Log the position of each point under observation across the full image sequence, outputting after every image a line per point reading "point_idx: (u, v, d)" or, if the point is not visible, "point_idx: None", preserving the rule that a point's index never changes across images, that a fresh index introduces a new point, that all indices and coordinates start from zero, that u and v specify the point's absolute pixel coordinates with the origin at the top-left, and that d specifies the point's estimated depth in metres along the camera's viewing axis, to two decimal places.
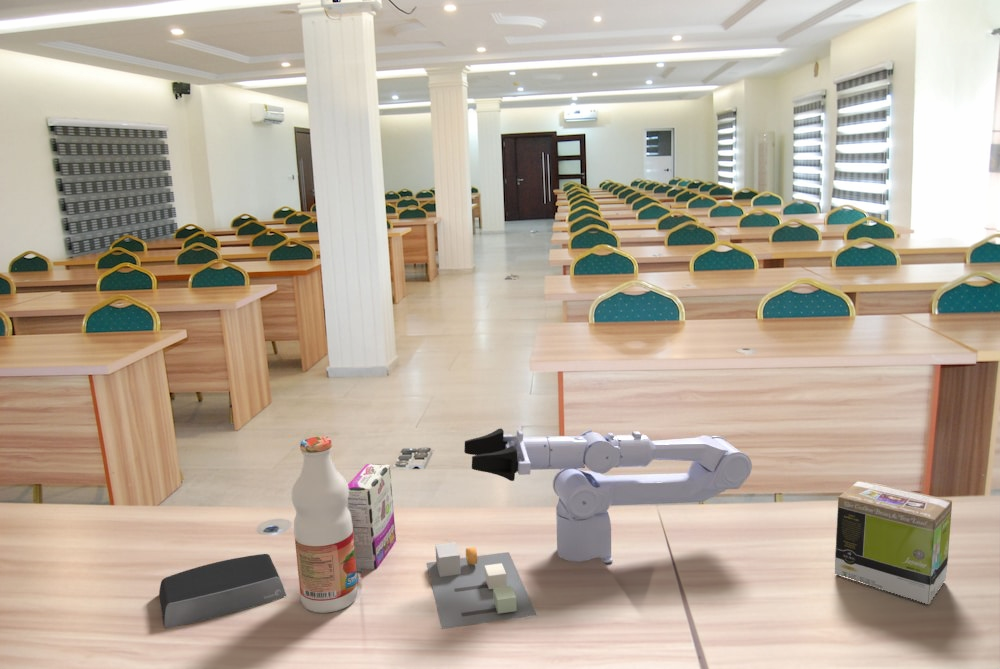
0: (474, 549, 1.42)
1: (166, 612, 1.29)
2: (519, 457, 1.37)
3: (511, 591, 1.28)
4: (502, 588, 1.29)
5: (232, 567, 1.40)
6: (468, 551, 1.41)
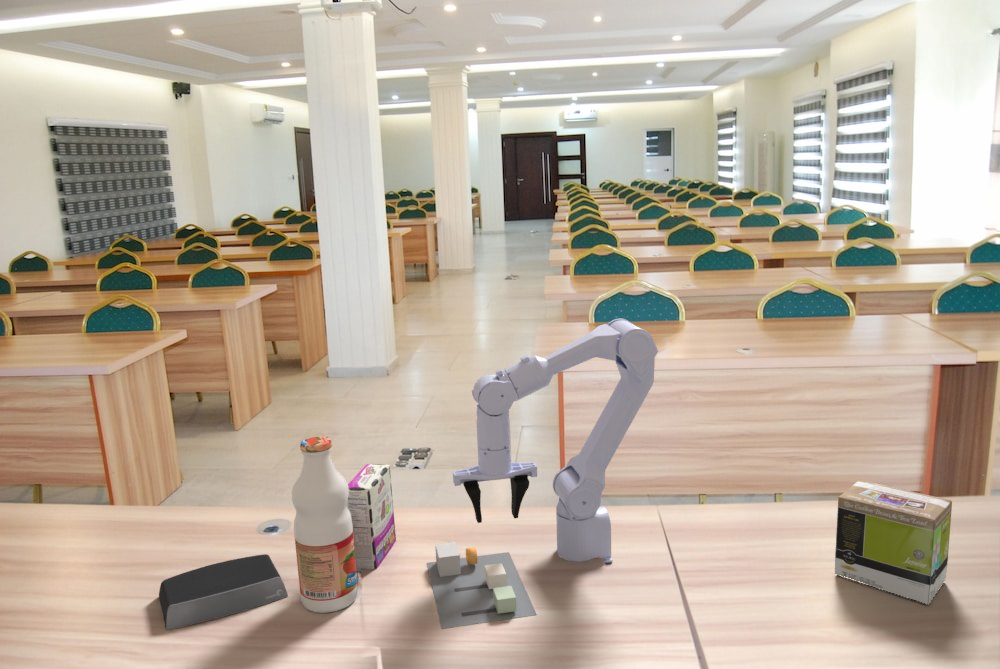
0: (474, 549, 1.42)
1: (168, 614, 1.28)
2: None
3: (511, 591, 1.28)
4: (502, 588, 1.29)
5: (232, 568, 1.39)
6: (468, 551, 1.41)
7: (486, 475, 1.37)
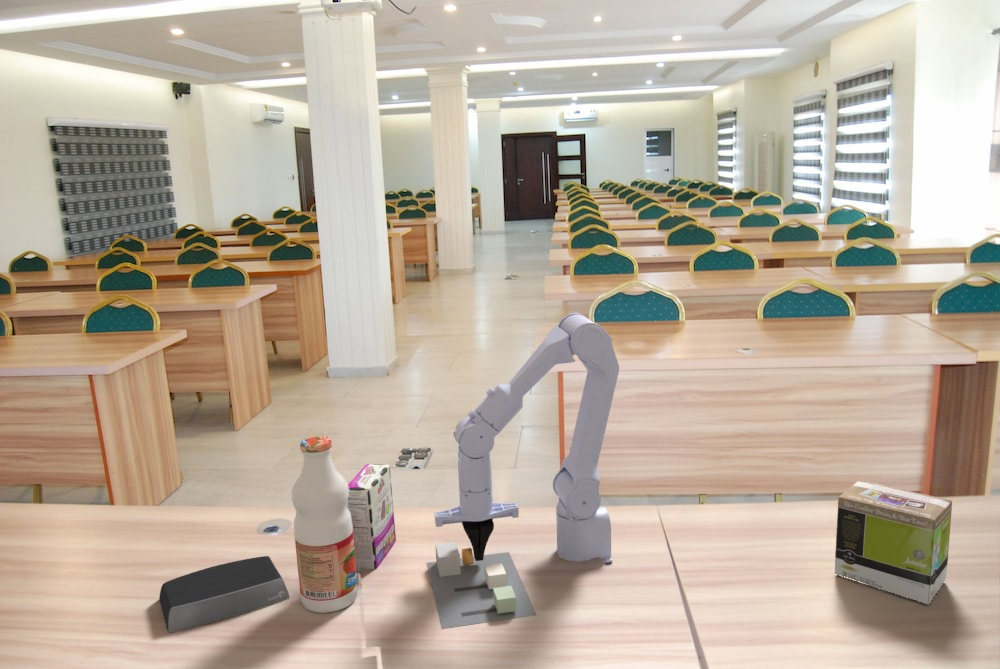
0: (470, 550, 1.41)
1: (170, 616, 1.27)
2: None
3: (511, 591, 1.28)
4: (502, 588, 1.29)
5: (233, 570, 1.39)
6: (464, 552, 1.41)
7: (467, 517, 1.38)
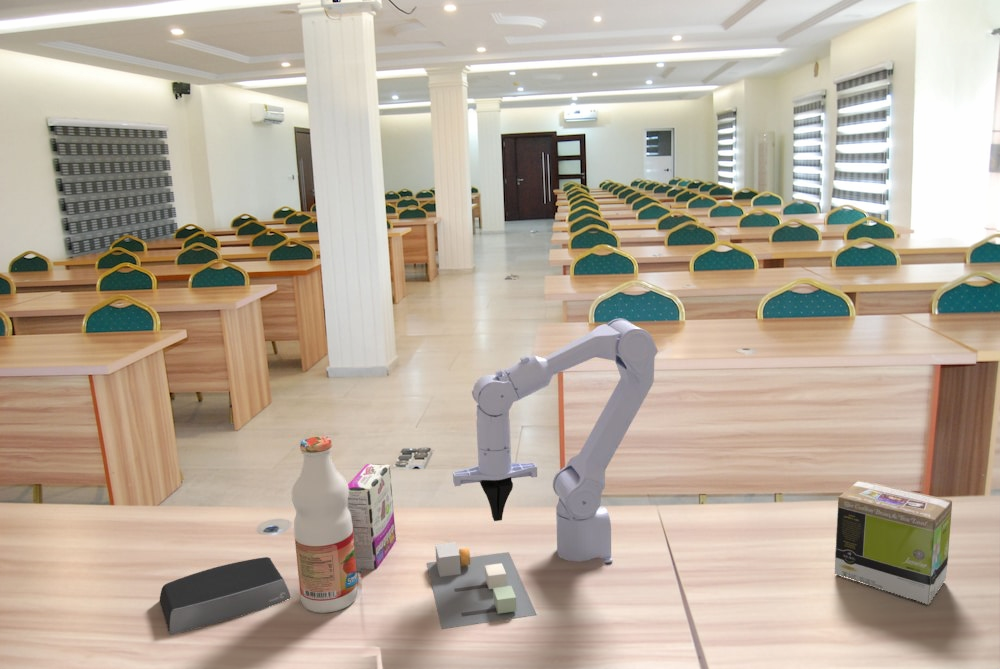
0: (467, 550, 1.41)
1: (171, 618, 1.27)
2: None
3: (511, 591, 1.28)
4: (502, 588, 1.29)
5: (234, 571, 1.38)
6: (461, 552, 1.41)
7: (486, 475, 1.37)
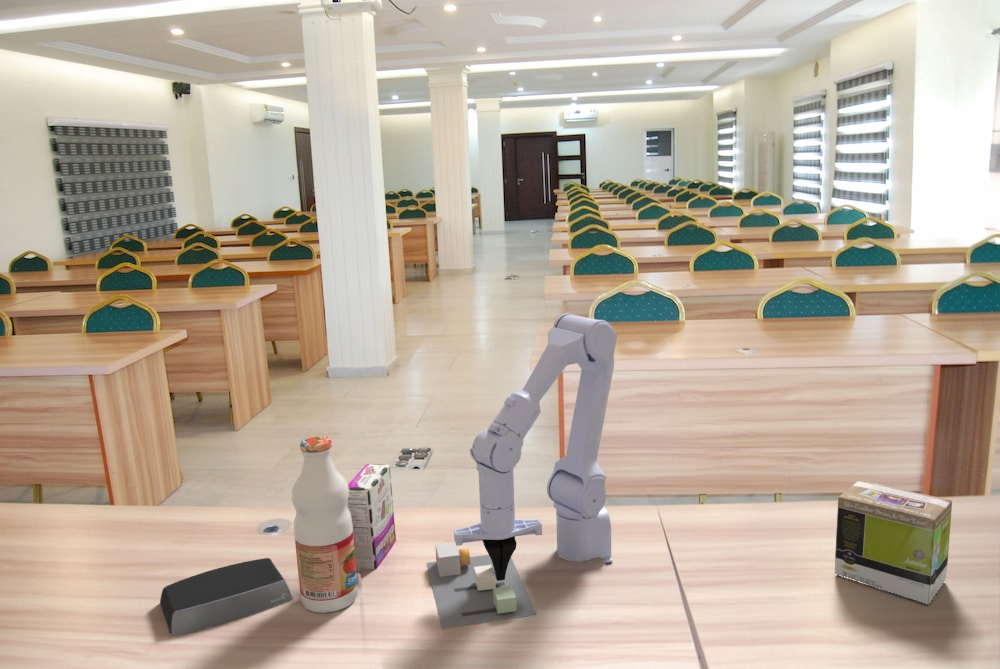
0: (467, 550, 1.41)
1: (173, 620, 1.26)
2: None
3: (511, 591, 1.28)
4: (502, 588, 1.29)
5: (235, 572, 1.38)
6: (461, 552, 1.41)
7: (489, 535, 1.31)
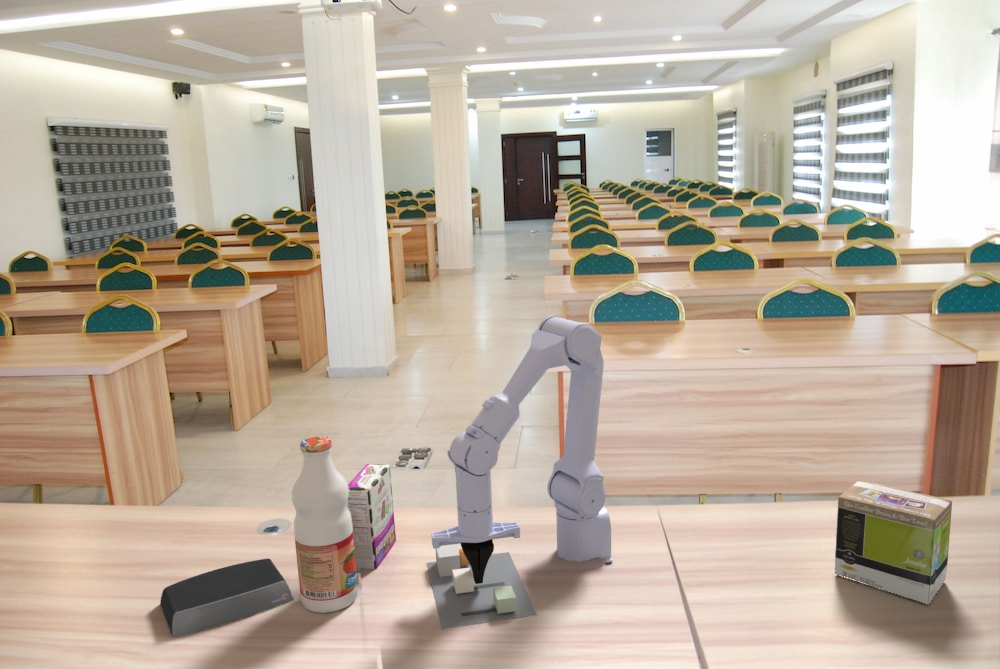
0: None
1: (173, 621, 1.26)
2: None
3: (511, 591, 1.28)
4: (502, 588, 1.29)
5: (235, 573, 1.38)
6: (461, 552, 1.41)
7: (466, 538, 1.30)
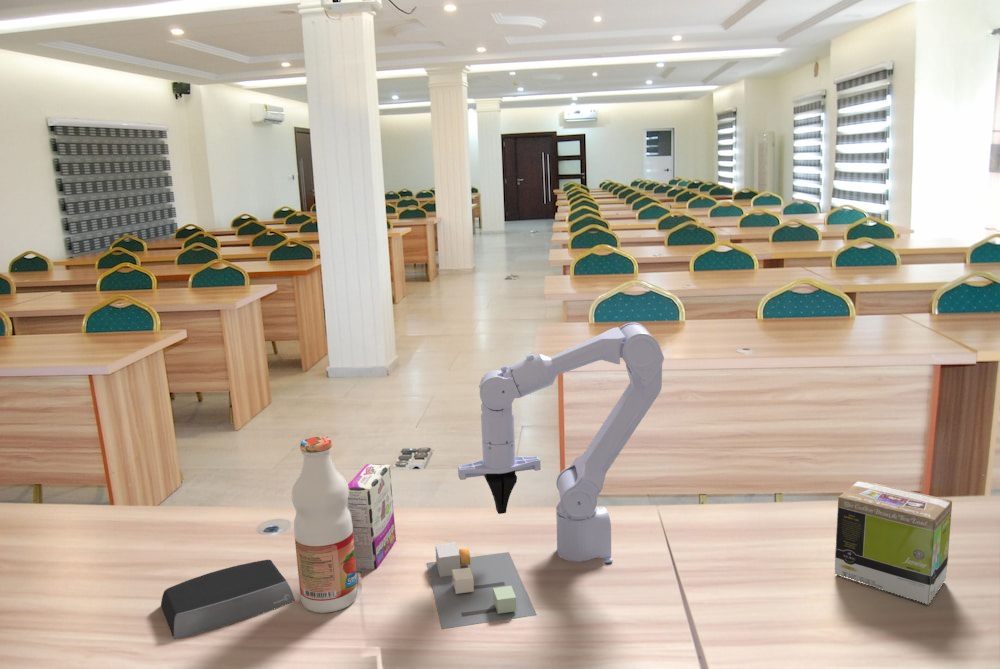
0: (467, 550, 1.41)
1: (175, 623, 1.26)
2: None
3: (511, 591, 1.28)
4: (502, 588, 1.29)
5: (236, 574, 1.37)
6: (461, 552, 1.41)
7: (491, 469, 1.40)
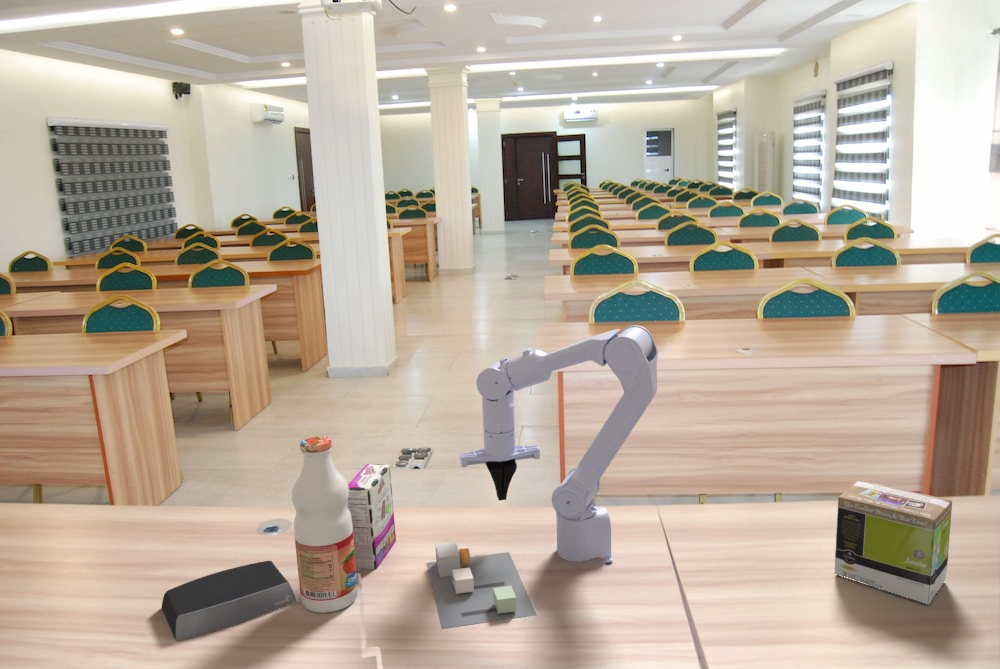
0: (467, 550, 1.41)
1: (177, 624, 1.25)
2: None
3: (511, 591, 1.28)
4: (502, 588, 1.29)
5: (237, 576, 1.37)
6: (461, 552, 1.41)
7: (491, 457, 1.45)
